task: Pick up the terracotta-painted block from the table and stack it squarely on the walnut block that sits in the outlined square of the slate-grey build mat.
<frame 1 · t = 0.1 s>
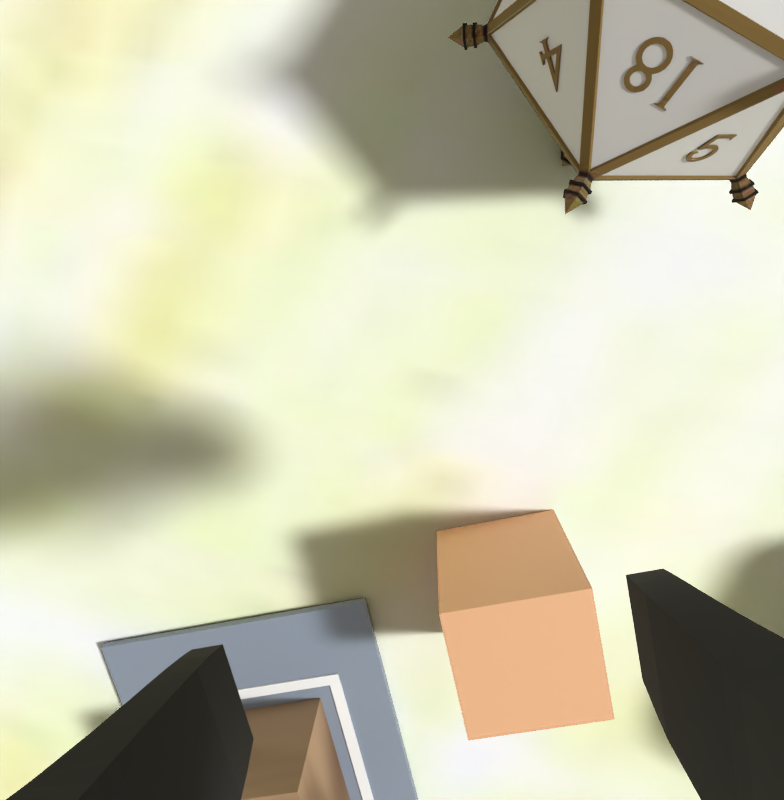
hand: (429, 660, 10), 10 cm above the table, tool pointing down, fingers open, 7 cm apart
walnut block: (273, 763, 23), resting on build mat
build mat: (275, 756, 23), on the table
terracotta block: (504, 572, 21), on the table
game die: (617, 66, 17), on the table
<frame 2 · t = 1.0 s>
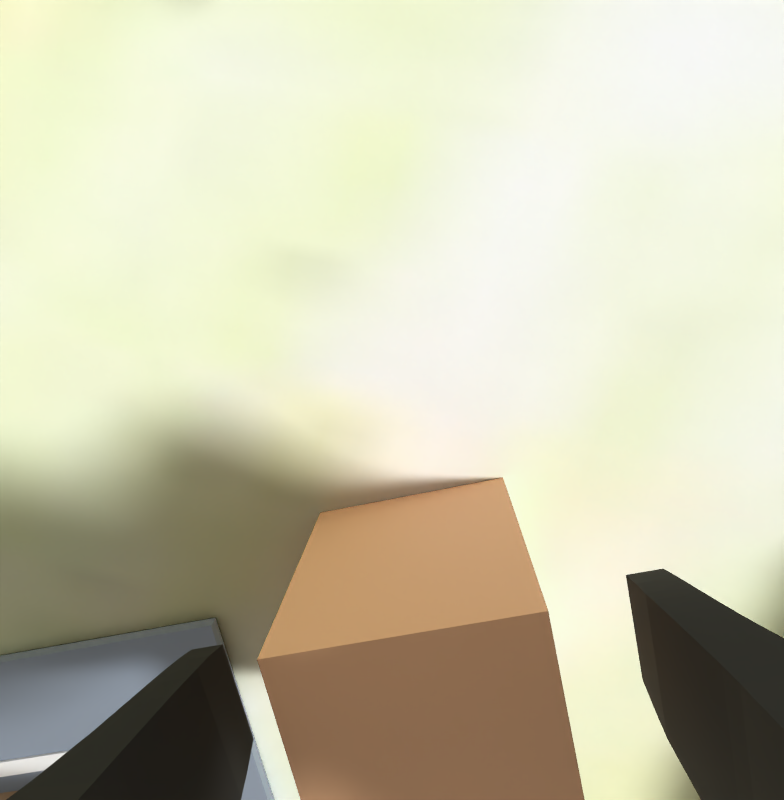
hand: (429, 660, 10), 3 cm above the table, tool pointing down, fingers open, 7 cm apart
terracotta block: (429, 577, 13), on the table
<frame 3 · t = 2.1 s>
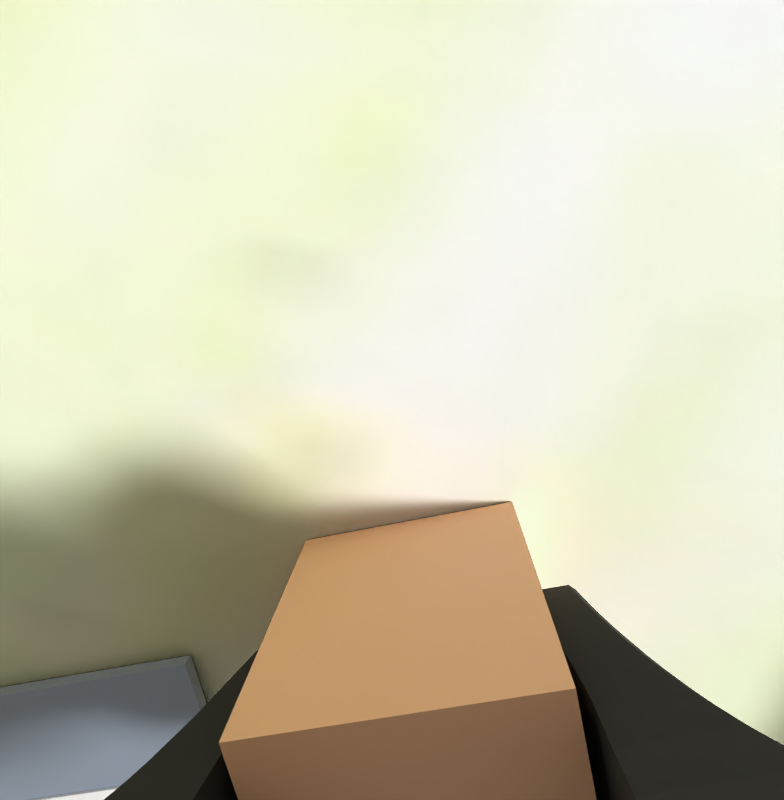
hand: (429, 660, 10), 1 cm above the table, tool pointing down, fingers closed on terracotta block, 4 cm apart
terracotta block: (429, 613, 12), on the table, touching gripper
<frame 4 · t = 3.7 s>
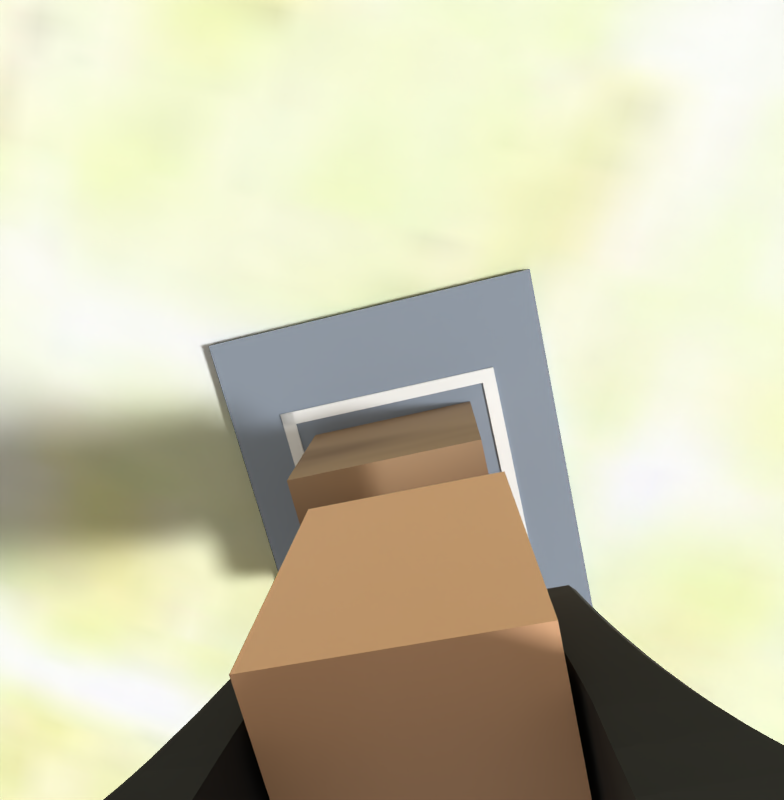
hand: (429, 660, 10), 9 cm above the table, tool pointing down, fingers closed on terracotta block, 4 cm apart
walnut block: (409, 491, 19), resting on build mat
build mat: (409, 488, 20), on the table
terracotta block: (425, 580, 12), point 7 cm above the table, touching gripper
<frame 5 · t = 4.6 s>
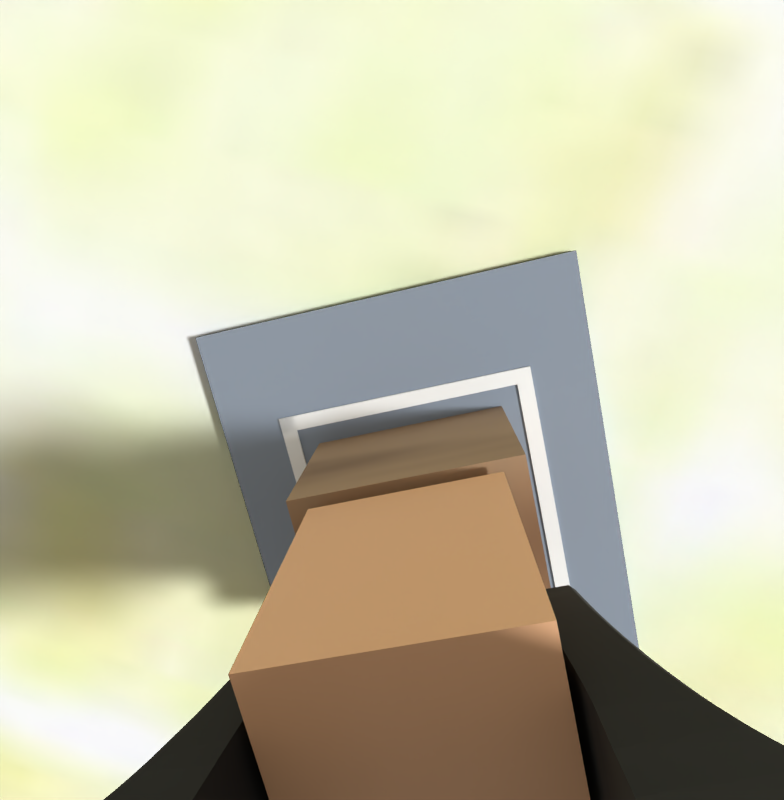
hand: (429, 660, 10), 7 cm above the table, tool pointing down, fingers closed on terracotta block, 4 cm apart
walnut block: (428, 510, 17), resting on build mat
build mat: (428, 505, 17), on the table
terracotta block: (425, 580, 12), point 5 cm above the table, touching gripper
when the fingers open (7 cm above the table, at t = 5.1 s): terracotta block stays where it is, resting on walnut block.
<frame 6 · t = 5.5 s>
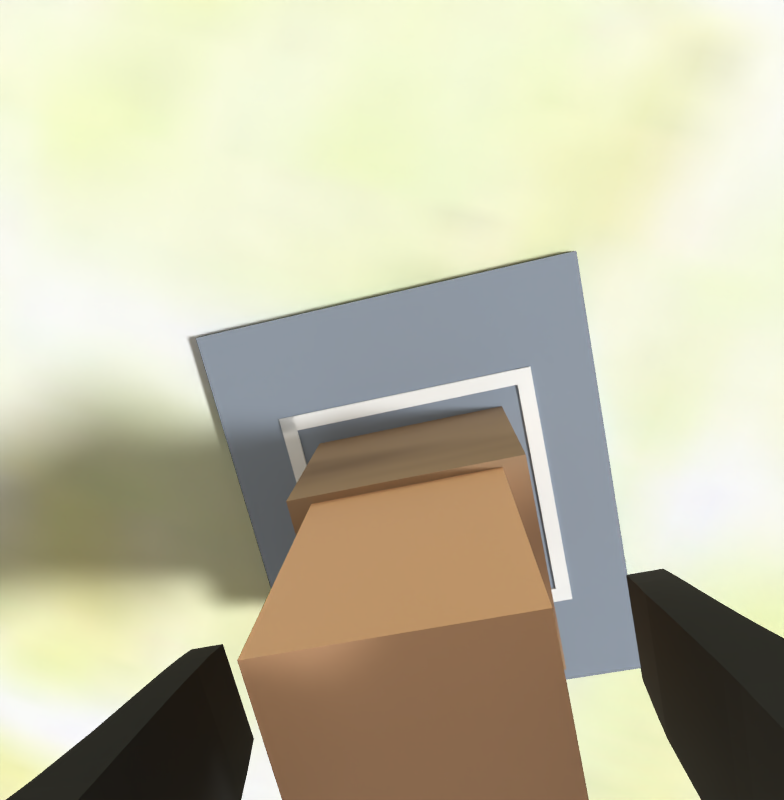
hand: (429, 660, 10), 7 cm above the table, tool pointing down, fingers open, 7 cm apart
walnut block: (428, 510, 17), resting on build mat, touching terracotta block
build mat: (428, 505, 17), on the table
terracotta block: (425, 573, 13), point 4 cm above the table, touching walnut block
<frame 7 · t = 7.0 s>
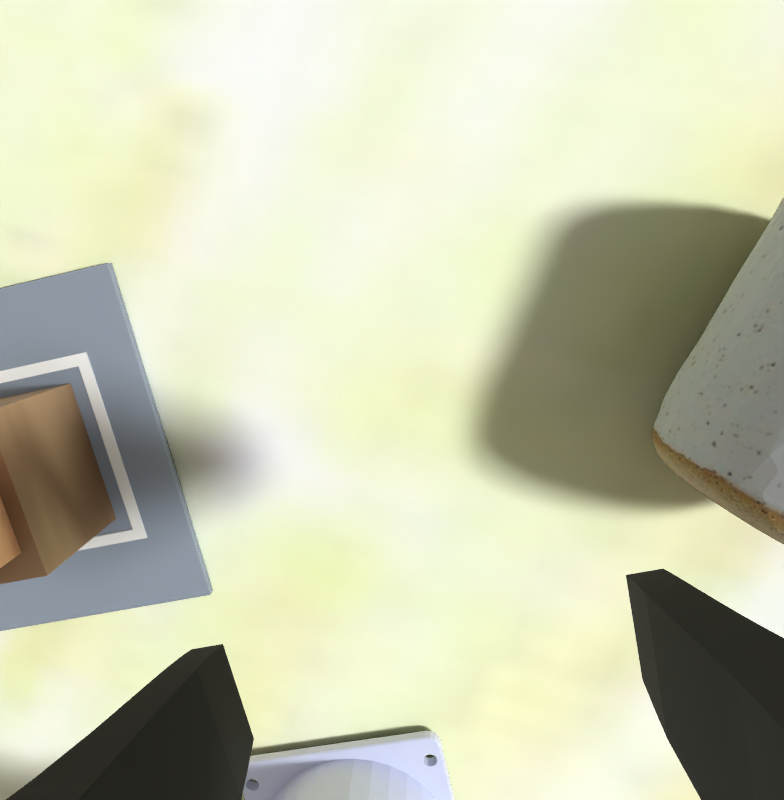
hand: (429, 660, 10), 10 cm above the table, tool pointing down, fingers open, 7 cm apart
walnut block: (27, 465, 21), resting on build mat, touching terracotta block
build mat: (33, 463, 21), on the table
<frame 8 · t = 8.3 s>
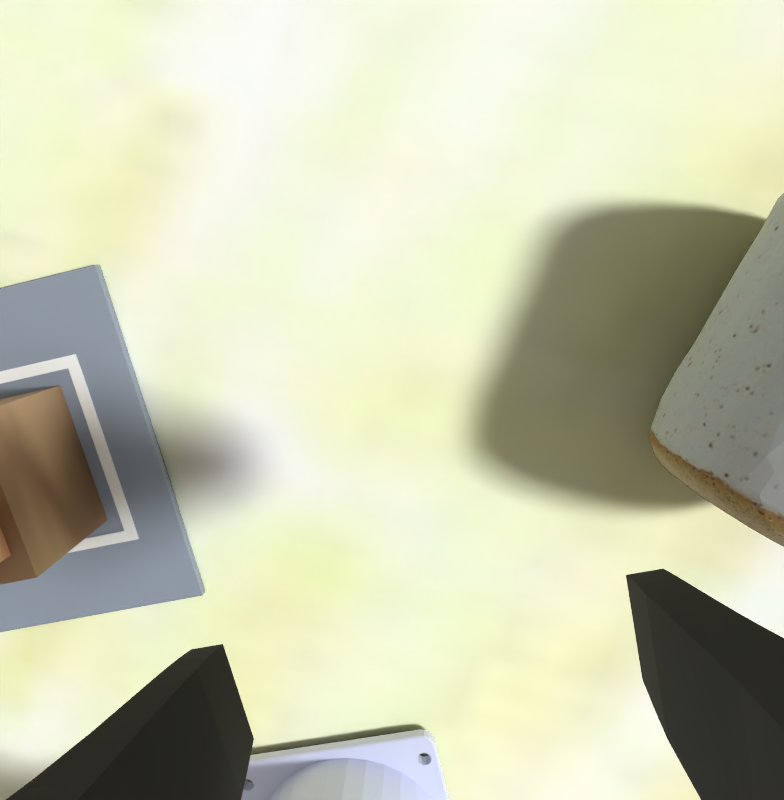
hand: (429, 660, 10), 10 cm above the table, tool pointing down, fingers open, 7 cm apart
walnut block: (19, 468, 21), resting on build mat, touching terracotta block
build mat: (24, 465, 21), on the table
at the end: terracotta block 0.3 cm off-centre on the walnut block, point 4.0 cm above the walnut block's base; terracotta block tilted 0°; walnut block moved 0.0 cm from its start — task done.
